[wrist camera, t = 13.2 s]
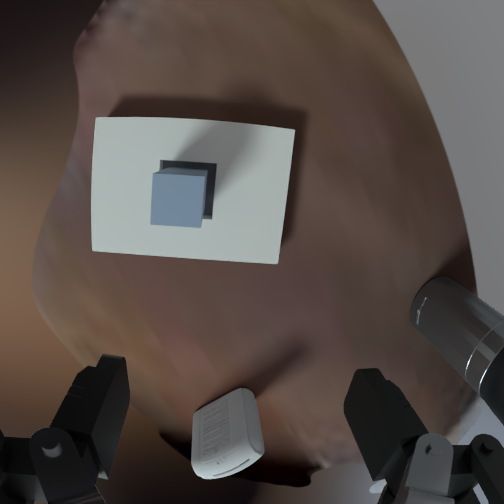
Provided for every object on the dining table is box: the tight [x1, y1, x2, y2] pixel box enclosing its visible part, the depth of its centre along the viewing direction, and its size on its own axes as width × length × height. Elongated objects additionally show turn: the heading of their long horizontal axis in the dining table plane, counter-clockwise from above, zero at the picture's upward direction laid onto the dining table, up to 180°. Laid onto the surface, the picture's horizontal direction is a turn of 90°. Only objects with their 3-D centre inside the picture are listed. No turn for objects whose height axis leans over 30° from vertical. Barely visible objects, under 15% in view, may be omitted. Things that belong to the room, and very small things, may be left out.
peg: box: [150, 167, 208, 228], centre depth 28 cm, size 4×4×9 cm
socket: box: [91, 117, 295, 264], centre depth 32 cm, size 20×14×3 cm
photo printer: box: [191, 388, 264, 479], centre depth 38 cm, size 10×4×12 cm, turn 127°
